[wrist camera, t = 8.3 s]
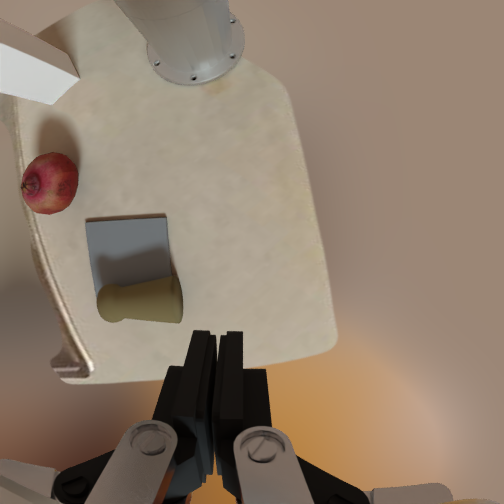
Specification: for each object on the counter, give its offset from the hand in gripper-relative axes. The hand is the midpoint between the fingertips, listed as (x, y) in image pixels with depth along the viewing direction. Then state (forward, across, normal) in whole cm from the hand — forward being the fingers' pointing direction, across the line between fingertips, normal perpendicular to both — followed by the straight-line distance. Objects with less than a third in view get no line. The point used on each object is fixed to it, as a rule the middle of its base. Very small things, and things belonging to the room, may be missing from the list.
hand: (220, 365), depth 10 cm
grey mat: (+28, +15, +7) cm, 33 cm away
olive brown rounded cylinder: (+25, +7, +10) cm, 28 cm away
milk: (+30, +27, -21) cm, 45 cm away
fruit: (+29, +24, -5) cm, 38 cm away
